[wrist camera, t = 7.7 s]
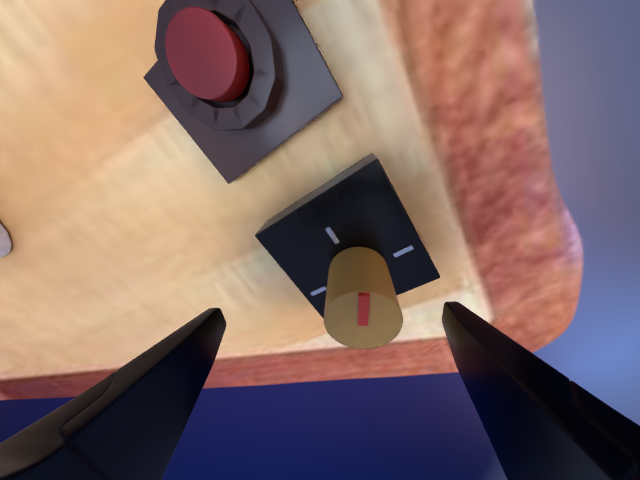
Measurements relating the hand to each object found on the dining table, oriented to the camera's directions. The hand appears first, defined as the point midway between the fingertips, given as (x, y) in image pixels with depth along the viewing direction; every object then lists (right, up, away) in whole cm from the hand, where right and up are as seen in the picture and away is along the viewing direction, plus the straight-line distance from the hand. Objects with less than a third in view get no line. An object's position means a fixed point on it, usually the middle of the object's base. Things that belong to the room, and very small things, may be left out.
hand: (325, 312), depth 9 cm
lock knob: (+3, +1, +8) cm, 9 cm away
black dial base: (+2, +3, +10) cm, 11 cm away
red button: (-6, +13, +3) cm, 14 cm away
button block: (-5, +13, +6) cm, 15 cm away
